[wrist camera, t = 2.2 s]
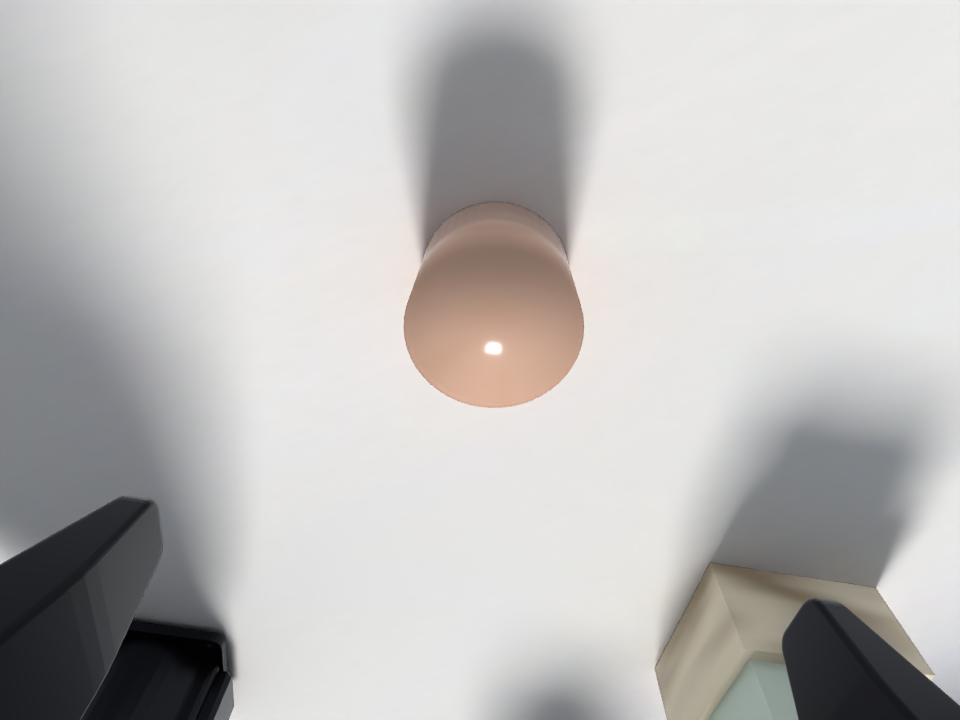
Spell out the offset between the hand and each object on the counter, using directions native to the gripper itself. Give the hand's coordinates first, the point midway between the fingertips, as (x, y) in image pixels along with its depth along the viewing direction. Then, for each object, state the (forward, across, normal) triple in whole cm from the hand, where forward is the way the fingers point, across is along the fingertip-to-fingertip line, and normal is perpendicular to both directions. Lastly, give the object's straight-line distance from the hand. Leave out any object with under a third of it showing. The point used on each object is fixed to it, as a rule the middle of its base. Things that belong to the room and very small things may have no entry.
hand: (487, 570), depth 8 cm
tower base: (+12, -14, +14) cm, 23 cm away
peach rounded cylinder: (+11, 0, 0) cm, 11 cm away
